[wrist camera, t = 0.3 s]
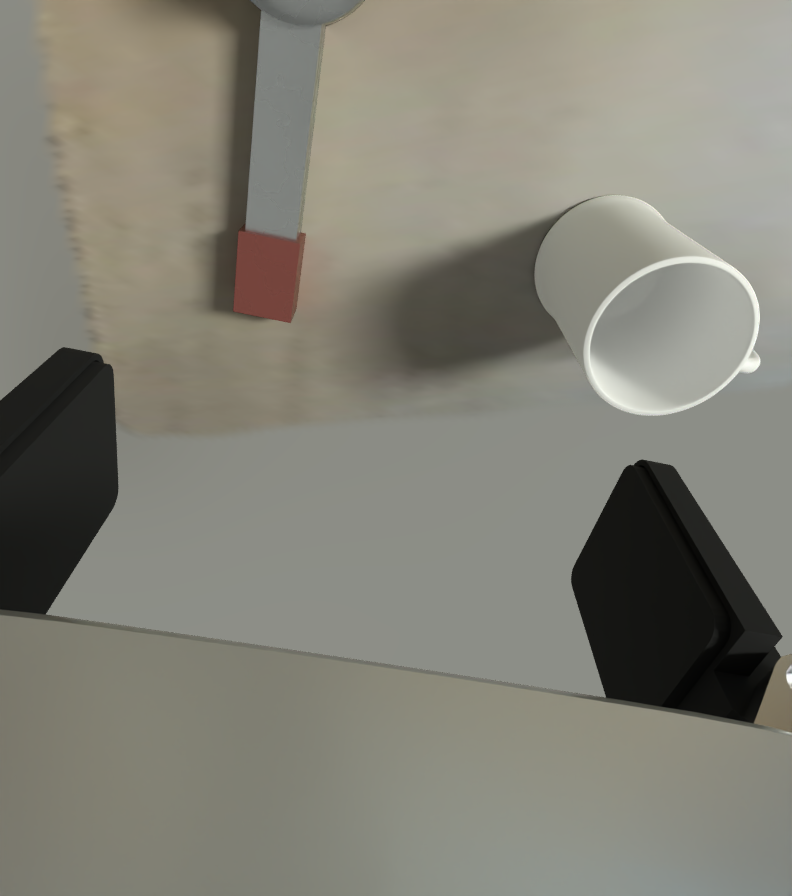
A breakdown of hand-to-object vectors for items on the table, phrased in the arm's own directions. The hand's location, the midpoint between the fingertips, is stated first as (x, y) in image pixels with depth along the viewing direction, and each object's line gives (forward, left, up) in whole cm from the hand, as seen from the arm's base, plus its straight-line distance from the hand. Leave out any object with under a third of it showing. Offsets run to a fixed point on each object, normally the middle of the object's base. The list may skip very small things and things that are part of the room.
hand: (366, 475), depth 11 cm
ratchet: (-3, -6, -30) cm, 31 cm away
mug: (+3, +15, -30) cm, 34 cm away
